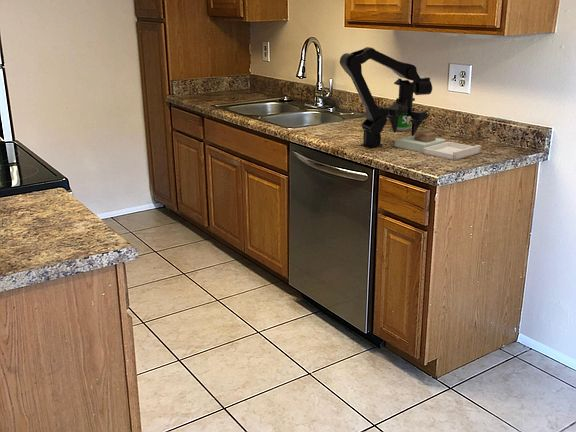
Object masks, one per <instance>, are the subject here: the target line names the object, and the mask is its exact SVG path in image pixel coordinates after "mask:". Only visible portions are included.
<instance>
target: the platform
mask: <svg viewBox="0 0 576 432" xmlns="http://www.w3.org/2000/svg"><path fill="white" fill-rule="evenodd" d="M445 142H447V139H445V138H439V137H436V140H435V141H431V142H427V143H426V142H421V141H416V140H414V136H412V134H411V135H407V136H402V137H398V138H394V147H396V148H400V149H404V150H409V151H414V152H419V153H422V148H426V147H430V146H433V145H437V144H441V143H445Z"/></svg>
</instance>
